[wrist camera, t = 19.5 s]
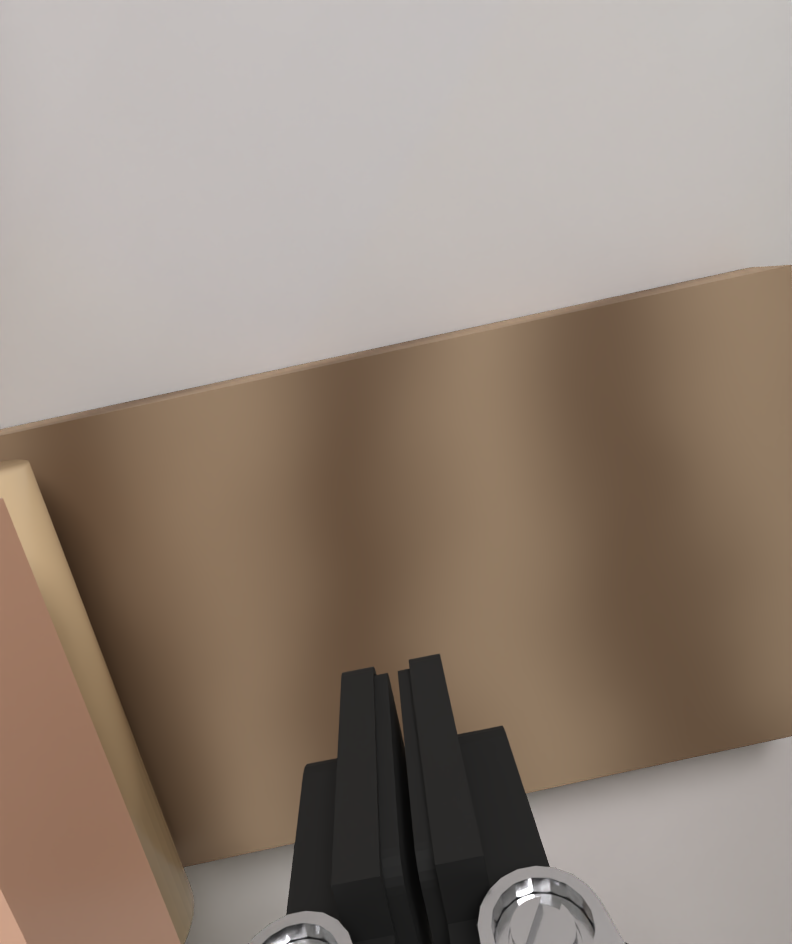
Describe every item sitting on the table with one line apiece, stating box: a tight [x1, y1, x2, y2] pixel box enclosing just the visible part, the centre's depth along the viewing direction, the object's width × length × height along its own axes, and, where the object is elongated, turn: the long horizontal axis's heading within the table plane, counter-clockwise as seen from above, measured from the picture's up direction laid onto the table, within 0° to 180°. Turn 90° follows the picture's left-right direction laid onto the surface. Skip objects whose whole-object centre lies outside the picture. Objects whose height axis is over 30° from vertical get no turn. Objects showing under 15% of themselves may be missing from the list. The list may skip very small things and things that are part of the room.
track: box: [0, 265, 792, 867], centre depth 13 cm, size 33×12×8 cm, turn 102°
